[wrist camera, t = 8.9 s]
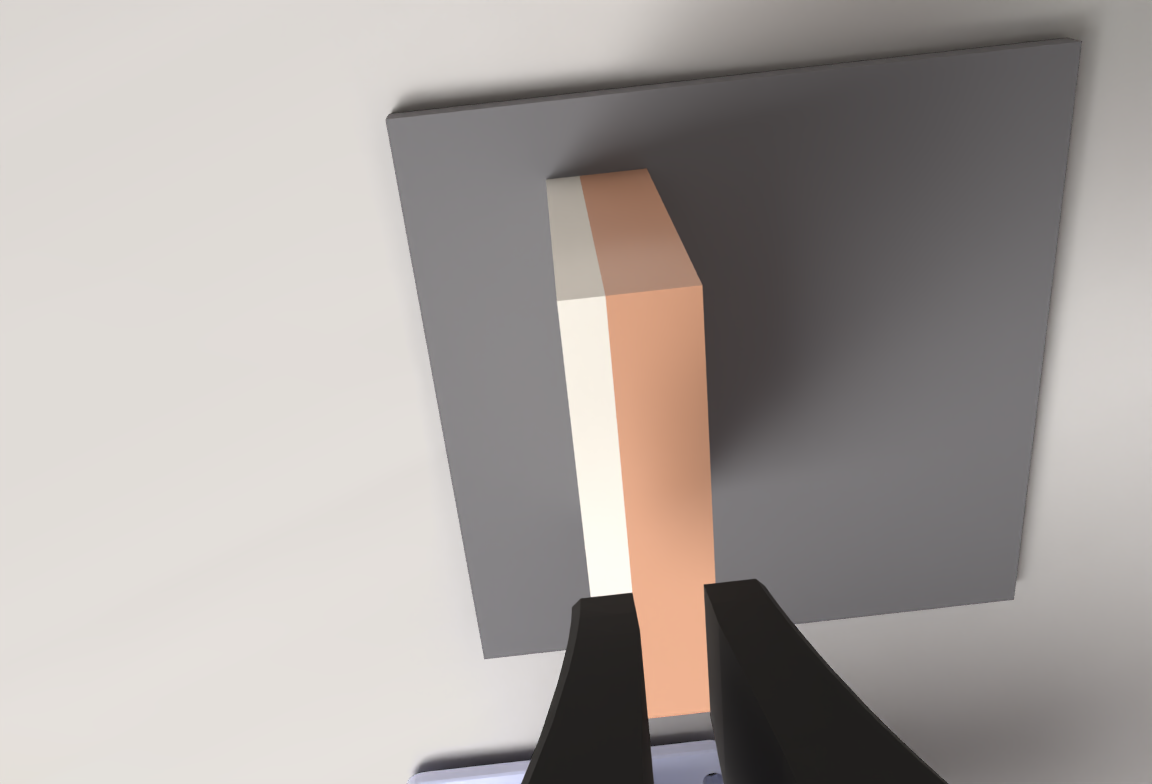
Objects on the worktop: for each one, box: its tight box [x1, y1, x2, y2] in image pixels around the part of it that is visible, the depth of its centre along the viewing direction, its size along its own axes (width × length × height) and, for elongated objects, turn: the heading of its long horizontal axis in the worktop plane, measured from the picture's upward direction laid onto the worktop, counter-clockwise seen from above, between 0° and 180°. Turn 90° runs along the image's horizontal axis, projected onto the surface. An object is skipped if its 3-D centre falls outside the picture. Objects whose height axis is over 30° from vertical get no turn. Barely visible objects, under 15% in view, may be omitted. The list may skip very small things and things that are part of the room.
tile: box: [546, 168, 715, 719], centre depth 16 cm, size 7×2×6 cm, turn 6°
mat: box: [386, 38, 1082, 659], centre depth 20 cm, size 12×12×1 cm
